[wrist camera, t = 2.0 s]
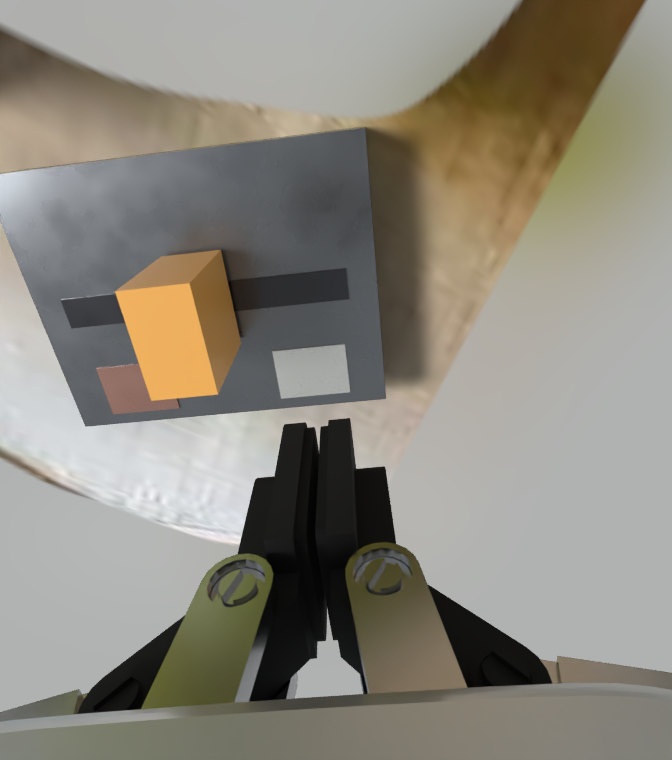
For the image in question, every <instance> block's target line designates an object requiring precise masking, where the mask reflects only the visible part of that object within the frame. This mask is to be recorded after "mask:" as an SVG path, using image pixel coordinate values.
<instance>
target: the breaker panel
mask: <svg viewBox="0 0 672 760" xmlns="http://www.w3.org/2000/svg"><path fill="white" fill-rule="evenodd" d="M0 222H1V224H2V227H3V229H4V232H5V234H6V236H7V239H8V241H9V244H10V246H11V248H12V251H13V253H14V256H15V258H16V260H17V263H18V265H19V268H20V270H21V272H22V275H23V277H24V280H25V282H26V285H27V287H28V289H29V292H30V294H31V297H32V299H33V301H34V304H35V306H36V309H37V311H38V313H39V316H40V318H41V321H42V323H43V325H44V328H45V330H46V333H47V335H48V337H49V340H50V342H51V345H52V347H53V349H54V352H55V354H56V357H57V359H58V361H59V364H60V366H61V369H62V371H63V373H64V376H65V378H66V381H67V383H68V385H69V388H70V390H71V393H72V395H73V397H74V400H75V402H76V405H77V407H78V409H79V412H80V414H81V417H82V419H83V422H84V424H85V426H97V425H107V424H118V423H129V422H140V421H151V420H161V419H172V418H183V417H194V416H205V415H216V414H226V413H237V412H248V411H259V410H270V409H280V408H291V407H302V406H313V405H324V404H334V403H345V402H356V401H367V400H378V399H386V392H385V379H384V366H383V353H382V339H381V326H380V313H379V300H378V287H377V274H376V261H375V248H374V235H373V222H372V209H371V196H370V183H369V170H368V156H367V143H366V130H365V127H357V128H349V129H341V130H334V131H326V132H318V133H310V134H302V135H294V136H286V137H279V138H271V139H263V140H255V141H247V142H239V143H231V144H223V145H216V146H208V147H200V148H192V149H184V150H176V151H168V152H161V153H153V154H145V155H137V156H129V157H121V158H113V159H105V160H98V161H90V162H82V163H74V164H66V165H58V166H50V167H43V168H35V169H27V170H19V171H12V172H6V173H0ZM214 250H221V253H222V258H223V262H224V267H225V271H226V276H227V281H228V285H229V290H230V294H231V299H232V303H233V308H234V312H235V317H236V321H237V326H238V330H239V335H240V339H241V345H240V347H239V349H238V352H237V354H236V356H235V358H234V360H233V363H232V365H231V367H230V369H229V371H228V374H227V376H226V378H225V380H224V383H223V385H222V387H221V389H220V391H219V394H218V395H208V396H197V397H186V398H176V399H165V400H155V401H151V398H150V395H149V392H148V389H147V386H146V383H145V380H144V377H143V374H142V371H141V368H140V365H139V362H138V359H137V356H136V353H135V350H134V347H133V344H132V341H131V338H130V335H129V332H128V329H127V326H126V323H125V320H124V317H123V314H122V311H121V308H120V305H119V302H118V299H117V296H116V293H115V291H116V290H117V289H119V288H120V287H121V286H123V285H124V284H125V283H127V282H128V281H129V280H131V279H132V278H133V277H135V276H136V275H137V274H139V273H140V272H141V271H143V270H144V269H145V268H147V267H148V266H149V265H151V264H152V263H153V262H155V261H156V260H157V259H159V258H160V257H161V256H170V255H179V254H187V253H196V252H205V251H214Z"/></svg>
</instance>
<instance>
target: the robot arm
mask: <svg viewBox="0 0 672 760" xmlns="http://www.w3.org/2000/svg"><path fill="white" fill-rule="evenodd" d="M327 609H328V614H329V620H330V625H331V631H332V636H333V640H338V642H339V649H340V654H341V657H342V658H343V659H344V660H345V661H346V662H347V663H348V664H349V665H351V666H352V667H353V668H354V669H355V670H356V671H357V672H359V673H360V680H361V685H362V690H363V694H358V695H343V696H328V697H312V698H297V699H295V694H296V689H297V680H298V676H297V671H298V670H299V669H300V668H301V667H303V666H304V665H305V664H306V663H307V661H309V659H313V658H317V641H326V627H327ZM0 760H672V673H669V672H663V671H656V670H649V669H643V668H635V667H629V666H622V665H616V664H609V663H602V662H594V661H589V660H582V659H575V658H568V657H561V656H557V662H553V661H546V660H540V659H539V658H538V657H537V656H536V655H535V654H534V653H532V652H531V651H530V650H529V649H528V648H526V647H525V646H523V645H522V644H520V643H519V642H517V641H516V640H514V639H512V638H511V637H509V636H508V635H506V634H505V633H503V632H501V631H500V630H498V629H497V628H495V627H494V626H492V625H491V624H489V623H487V622H486V621H484V620H483V619H481V618H480V617H478V616H476V615H475V614H473V613H472V612H470V611H469V610H467V609H465V608H464V607H462V606H461V605H459V604H457V603H456V602H454V601H453V600H451V599H450V598H448V597H446V596H445V595H443V594H442V593H440V592H439V591H437V590H436V589H434V588H432V587H431V586H429V585H427V582H426V580H425V577H424V575H423V572H422V569H421V567H420V564H419V562H418V560H417V559H416V557H415V556H414V554H412V553H411V552H410V551H409V550H407V549H406V548H405V547H402V546H400V545H397V544H396V541H395V533H394V526H393V519H392V512H391V505H390V498H389V491H388V484H387V477H386V470H385V467H374V468H363V469H356V464H355V456H354V447H353V439H352V430H351V422H350V418H347V419H337V420H329V422H328V426H323V427H321V431H320V449H319V450H318V444H317V437H316V431H315V428H314V427H312V428H307V424H306V422H305V423H295V424H285V425H284V427H283V432H282V438H281V444H280V449H279V455H278V460H277V466H276V471H275V477H264V478H257V479H256V480H255V483H254V487H253V491H252V495H251V499H250V504H249V508H248V512H247V517H246V521H245V525H244V529H243V534H242V538H241V542H240V547H239V551H238V554H237V555H234V556H231V557H228V558H225V559H224V560H222V561H220V562H218V563H217V564H215V565H214V566H213V567H212V568H211V569H210V570H209V571H208V572H207V573H206V575H205V576H204V578H203V580H202V581H201V583H200V585H199V588H198V590H197V592H196V594H195V596H194V598H193V600H192V602H191V604H190V606H189V609H188V611H187V613H186V615H185V616H184V617H182V618H181V619H180V620H179V621H177V622H176V623H174V624H173V625H172V626H170V627H169V628H168V629H166V630H165V631H164V632H163V633H161V634H160V635H159V636H157V637H156V638H155V639H153V640H152V641H151V642H150V643H148V644H147V645H145V646H144V647H143V648H142V649H140V650H139V651H138V652H136V653H135V654H134V655H132V656H131V657H130V658H128V659H127V660H126V661H124V662H123V663H122V664H121V665H119V666H118V667H117V668H115V669H114V670H113V671H111V672H110V673H109V674H107V675H106V676H105V677H103V678H102V679H101V680H100V681H99V682H98V683H97V684H96V685H95V686H94V687H93V688H92V689H91V690H90V692H89V693H86V694H83V695H82V693H81V692H80V690H79V689H78V690H74V691H72V692H68V693H64V694H61V695H57V696H54V697H51V698H47V699H44V700H40V701H37V702H34V703H30V704H27V705H23V706H20V707H17V708H13V709H10V710H7V711H3V712H0Z"/></svg>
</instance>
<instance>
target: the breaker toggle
mask: <svg viewBox="0 0 672 760" xmlns="http://www.w3.org/2000/svg"><path fill="white" fill-rule="evenodd" d="M115 293H116V296H117V299H118V302H119V305H120V308H121V311H122V314H123V317H124V320H125V323H126V326H127V329H128V332H129V335H130V338H131V341H132V344H133V347H134V350H135V353H136V356H137V359H138V362H139V365H140V368H141V371H142V374H143V377H144V380H145V383H146V386H147V389H148V392H149V395H150V398H151V401H155V400H165V399H176V398H186V397H197V396H208V395H218V394H219V391H220V389H221V387H222V385H223V383H224V380H225V378H226V376H227V374H228V371H229V369H230V367H231V365H232V363H233V360H234V358H235V356H236V354H237V352H238V349H239V347H240V345H241V339H240V335H239V330H238V326H237V321H236V317H235V312H234V308H233V303H232V299H231V294H230V290H229V285H228V281H227V276H226V271H225V267H224V262H223V258H222V253H221V250H214V251H205V252H196V253H187V254H179V255H170V256H161V257H160V258H159V259H157V260H156V261H155V262H153V263H152V264H151V265H149V266H148V267H147V268H145V269H144V270H143V271H141V272H140V273H139V274H137V275H136V276H135V277H133V278H132V279H131V280H129V281H128V282H127V283H125V284H124V285H123V286H121V287H120V288H119V289H117V290H116V291H115Z"/></svg>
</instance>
